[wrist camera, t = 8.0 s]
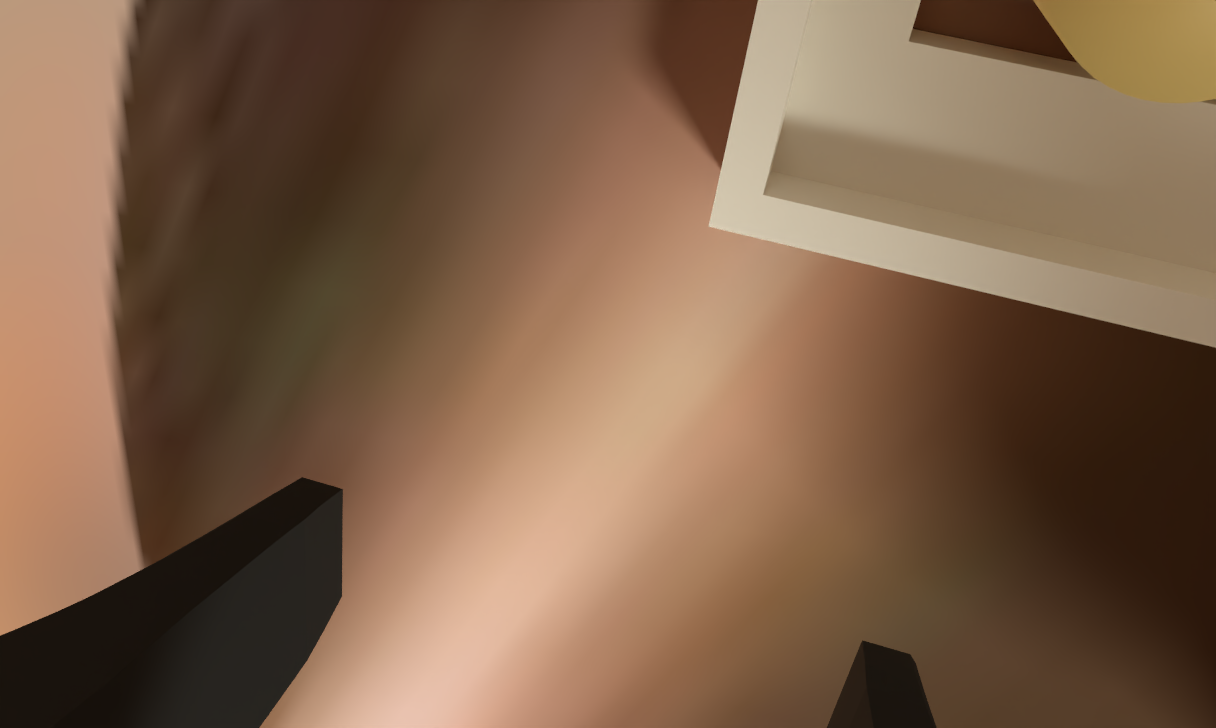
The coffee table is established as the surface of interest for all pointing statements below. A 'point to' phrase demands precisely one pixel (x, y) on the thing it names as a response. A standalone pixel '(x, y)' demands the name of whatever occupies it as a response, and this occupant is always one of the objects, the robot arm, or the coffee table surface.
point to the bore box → (971, 167)
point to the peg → (1142, 45)
